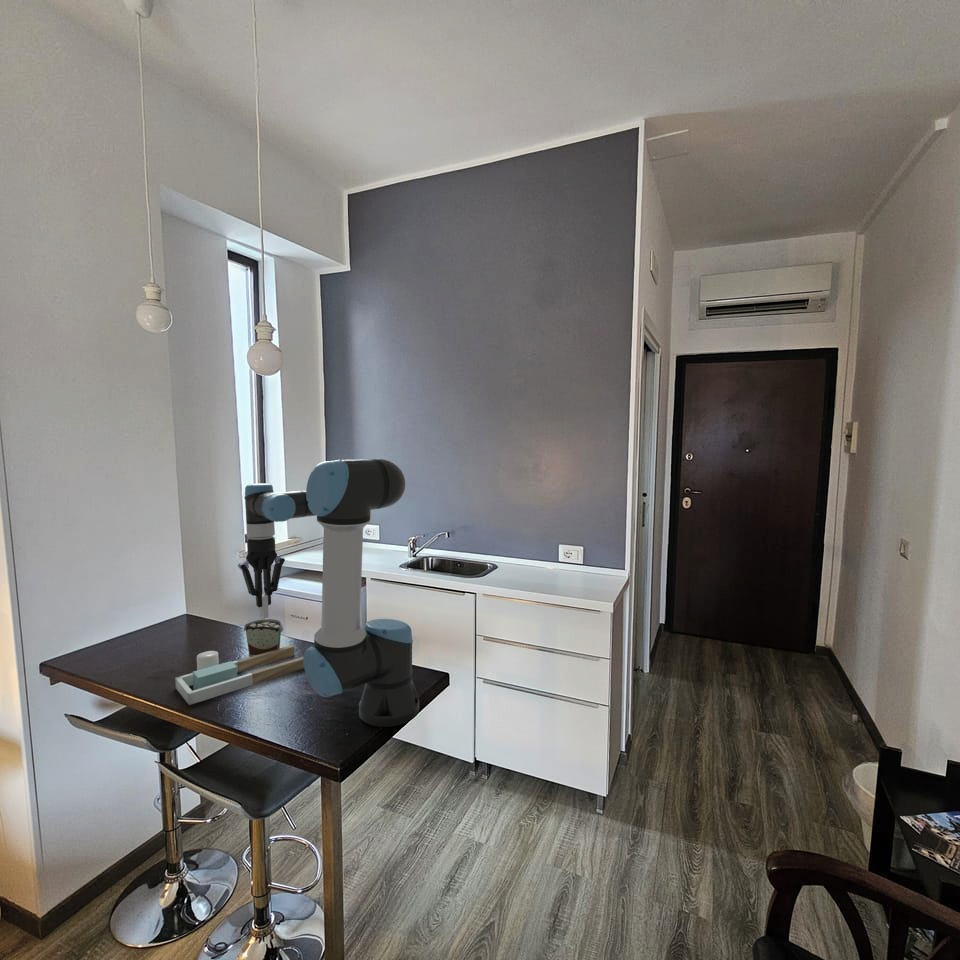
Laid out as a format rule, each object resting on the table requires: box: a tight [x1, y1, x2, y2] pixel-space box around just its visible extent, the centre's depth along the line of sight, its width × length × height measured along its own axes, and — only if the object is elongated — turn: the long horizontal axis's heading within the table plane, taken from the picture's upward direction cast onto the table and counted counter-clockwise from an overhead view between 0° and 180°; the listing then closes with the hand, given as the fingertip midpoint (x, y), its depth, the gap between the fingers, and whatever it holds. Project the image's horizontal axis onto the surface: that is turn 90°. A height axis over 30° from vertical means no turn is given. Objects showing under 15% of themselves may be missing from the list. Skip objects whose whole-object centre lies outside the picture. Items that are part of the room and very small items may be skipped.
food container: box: [243, 618, 284, 657], centre depth 171 cm, size 12×6×10 cm, turn 84°
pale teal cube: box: [192, 666, 218, 690], centre depth 146 cm, size 5×5×5 cm
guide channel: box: [236, 645, 305, 686], centre depth 159 cm, size 12×17×3 cm
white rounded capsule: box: [196, 650, 220, 671], centre depth 155 cm, size 6×6×6 cm
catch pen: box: [174, 660, 254, 706], centre depth 148 cm, size 12×16×3 cm
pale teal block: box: [212, 660, 238, 683], centre depth 150 cm, size 5×5×5 cm
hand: (264, 616), depth 156 cm, fingers closed
